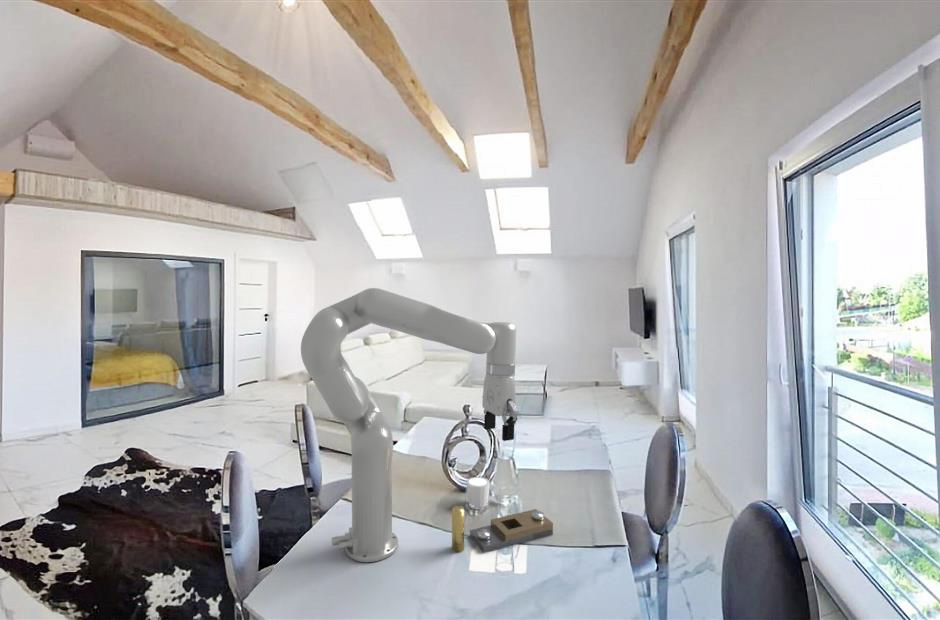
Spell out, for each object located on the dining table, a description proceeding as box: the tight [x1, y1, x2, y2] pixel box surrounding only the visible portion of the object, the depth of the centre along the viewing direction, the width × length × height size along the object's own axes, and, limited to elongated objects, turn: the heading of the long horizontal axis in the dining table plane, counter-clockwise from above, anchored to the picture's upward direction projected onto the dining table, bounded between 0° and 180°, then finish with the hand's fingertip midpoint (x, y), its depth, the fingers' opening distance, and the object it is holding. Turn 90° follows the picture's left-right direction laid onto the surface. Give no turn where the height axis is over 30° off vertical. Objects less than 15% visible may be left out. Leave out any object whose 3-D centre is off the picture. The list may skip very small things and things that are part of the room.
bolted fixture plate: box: [469, 508, 554, 554], centre depth 115 cm, size 20×8×4 cm, turn 115°
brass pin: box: [451, 505, 465, 554], centre depth 108 cm, size 3×3×10 cm
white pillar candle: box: [466, 476, 491, 507], centre depth 131 cm, size 7×7×7 cm
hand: (498, 434), depth 117 cm, fingers open, 9 cm apart
